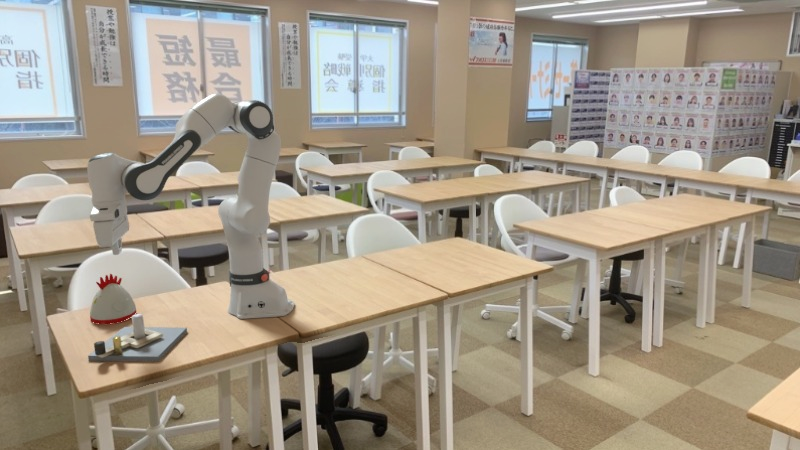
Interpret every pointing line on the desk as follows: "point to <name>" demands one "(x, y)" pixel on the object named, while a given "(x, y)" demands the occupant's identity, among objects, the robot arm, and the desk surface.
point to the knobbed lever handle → (127, 342)
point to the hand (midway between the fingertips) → (117, 253)
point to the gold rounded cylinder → (117, 345)
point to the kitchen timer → (111, 302)
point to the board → (147, 351)
